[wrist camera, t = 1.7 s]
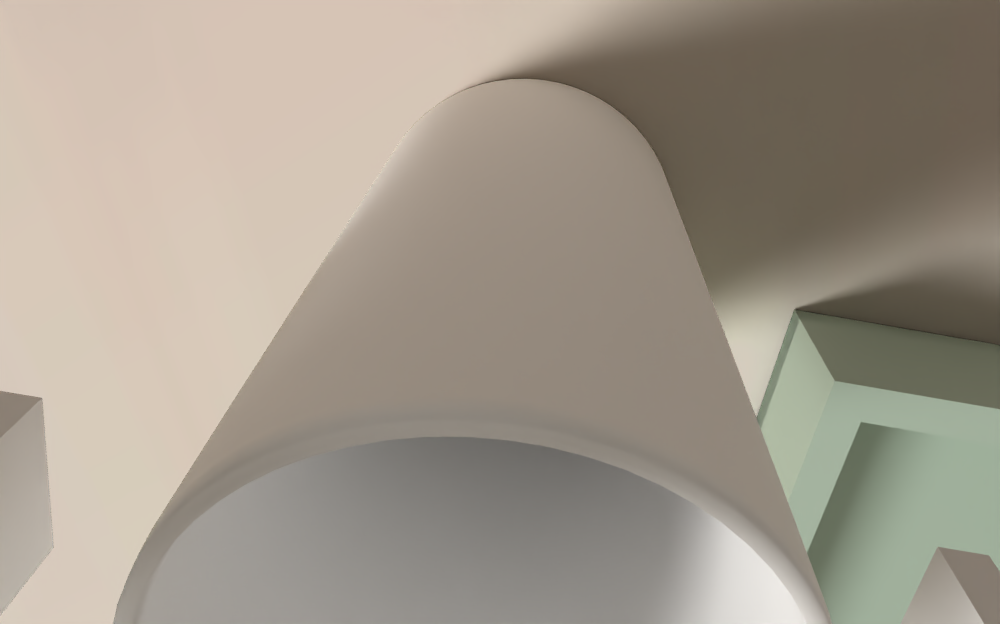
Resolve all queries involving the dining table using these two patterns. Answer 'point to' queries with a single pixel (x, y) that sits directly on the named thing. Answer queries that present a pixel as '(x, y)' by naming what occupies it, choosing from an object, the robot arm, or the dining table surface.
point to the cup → (491, 408)
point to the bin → (884, 455)
